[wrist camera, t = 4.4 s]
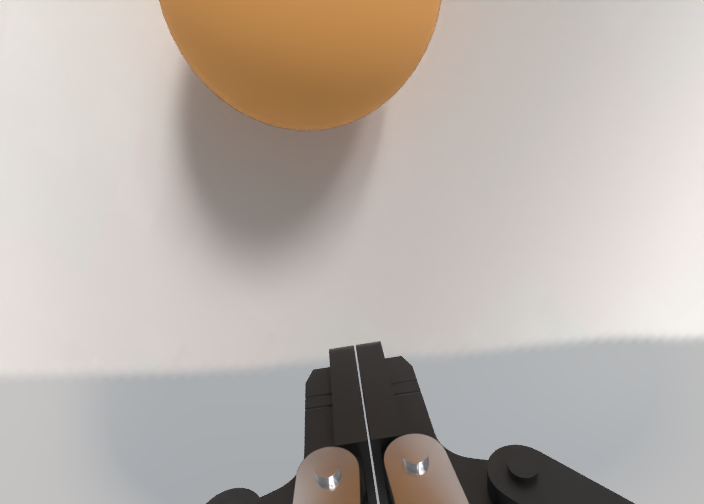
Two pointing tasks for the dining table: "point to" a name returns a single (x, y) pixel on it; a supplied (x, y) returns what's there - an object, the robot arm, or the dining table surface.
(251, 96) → the ball
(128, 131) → the dining table surface
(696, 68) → the dining table surface
